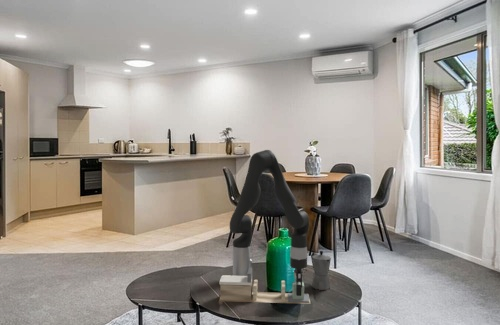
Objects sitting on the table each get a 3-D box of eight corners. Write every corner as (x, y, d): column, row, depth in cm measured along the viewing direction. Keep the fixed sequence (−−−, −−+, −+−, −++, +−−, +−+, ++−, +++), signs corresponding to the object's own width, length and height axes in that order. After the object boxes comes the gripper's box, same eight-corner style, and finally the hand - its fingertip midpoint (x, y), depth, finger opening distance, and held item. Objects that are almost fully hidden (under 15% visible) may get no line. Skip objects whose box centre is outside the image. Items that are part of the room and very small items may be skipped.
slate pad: (287, 294, 183) (287, 293, 182) (307, 294, 182) (307, 293, 182) (288, 301, 174) (288, 300, 174) (309, 302, 173) (309, 301, 173)
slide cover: (222, 277, 184) (222, 266, 184) (252, 278, 183) (252, 267, 183) (219, 284, 175) (219, 272, 175) (250, 285, 174) (251, 273, 174)
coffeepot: (336, 290, 192) (337, 253, 192) (320, 292, 189) (320, 255, 188) (319, 280, 207) (319, 246, 206) (303, 282, 203) (303, 247, 202)
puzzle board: (222, 294, 186) (222, 277, 186) (308, 296, 183) (308, 279, 183) (218, 304, 174) (218, 286, 174) (310, 307, 171) (310, 289, 171)
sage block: (292, 294, 180) (292, 281, 180) (303, 295, 180) (303, 282, 180) (292, 299, 175) (292, 285, 175) (304, 299, 175) (304, 286, 175)
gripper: (289, 251, 184) (289, 286, 185) (290, 260, 170) (290, 297, 171) (306, 252, 184) (305, 286, 184) (308, 261, 170) (308, 298, 170)
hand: (298, 292), depth 178 cm, fingers open, 8 cm apart
